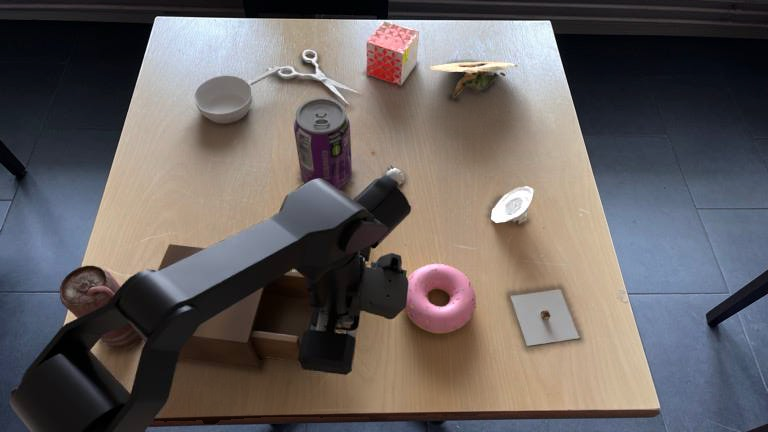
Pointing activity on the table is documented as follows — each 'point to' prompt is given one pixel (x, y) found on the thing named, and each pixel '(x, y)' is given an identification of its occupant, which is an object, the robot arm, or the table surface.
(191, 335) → the robot arm
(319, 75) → the scissors
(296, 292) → the drawer
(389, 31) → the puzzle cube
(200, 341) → the cabinet
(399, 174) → the white rounded lump
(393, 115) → the table surface
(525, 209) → the white footed dish
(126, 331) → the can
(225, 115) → the saucepan
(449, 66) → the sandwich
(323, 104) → the beverage can
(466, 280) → the doughnut
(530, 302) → the grey square plate
